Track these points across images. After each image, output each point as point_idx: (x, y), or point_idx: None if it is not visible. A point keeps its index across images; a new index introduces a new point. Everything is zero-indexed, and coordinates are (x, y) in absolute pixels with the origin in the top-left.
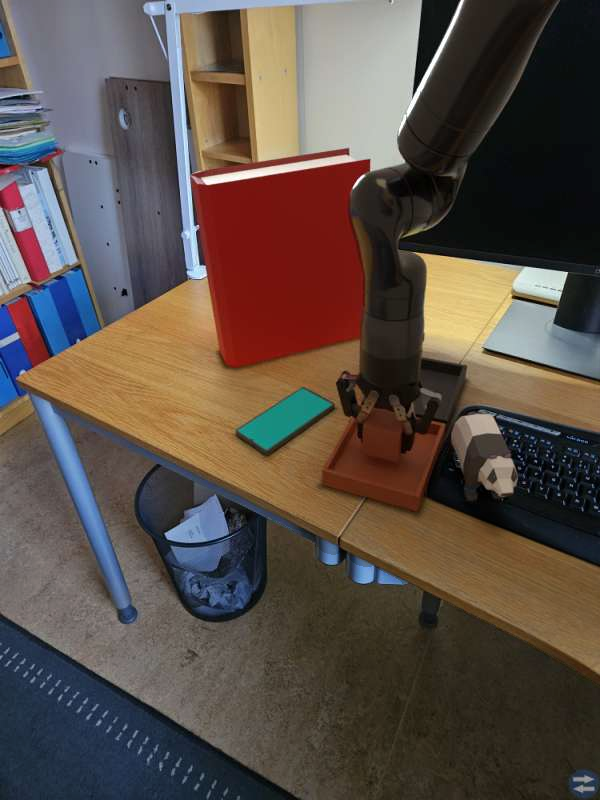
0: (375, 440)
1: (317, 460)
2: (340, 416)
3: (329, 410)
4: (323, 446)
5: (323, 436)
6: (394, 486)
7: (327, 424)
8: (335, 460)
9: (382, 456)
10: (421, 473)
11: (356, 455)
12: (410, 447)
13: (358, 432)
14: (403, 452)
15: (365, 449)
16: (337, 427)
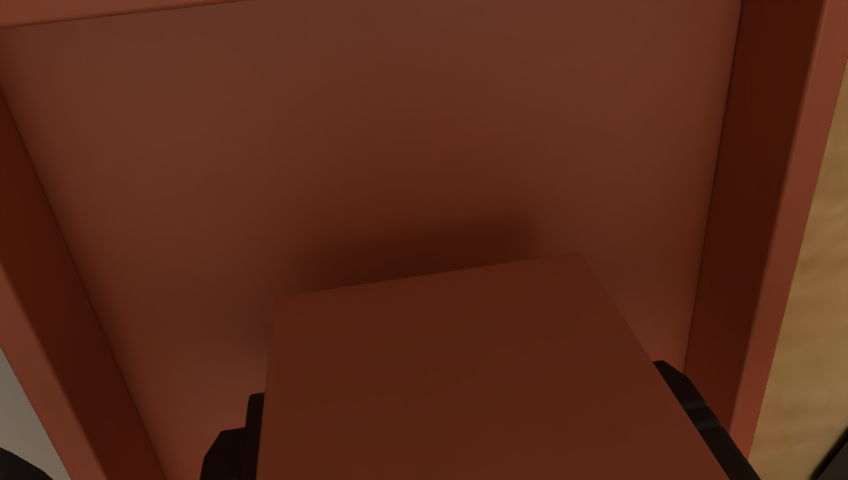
0: (520, 398)
1: (843, 102)
2: (768, 454)
3: (843, 463)
4: (823, 230)
5: (836, 299)
6: (225, 108)
7: (828, 382)
8: (752, 116)
9: (410, 292)
10: (125, 310)
11: (606, 249)
12: (210, 467)
13: (696, 408)
14: (262, 399)
15: (572, 287)
16: (768, 388)
